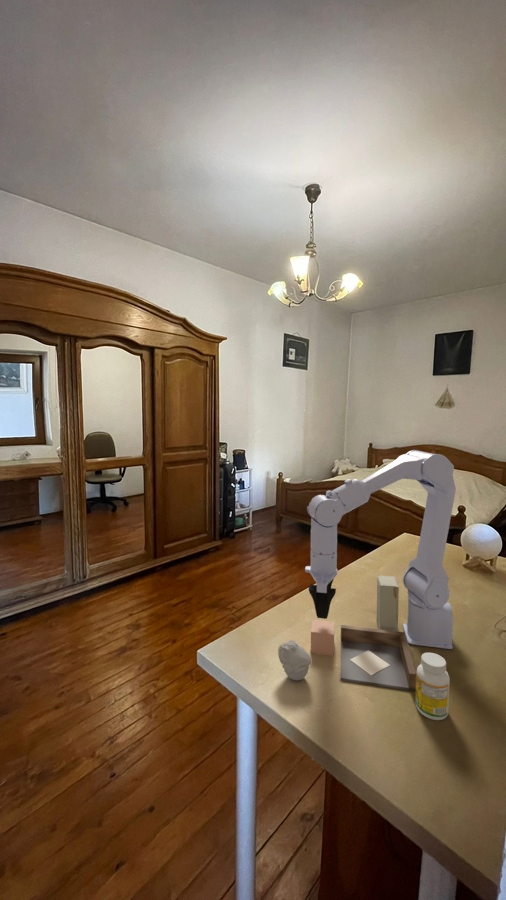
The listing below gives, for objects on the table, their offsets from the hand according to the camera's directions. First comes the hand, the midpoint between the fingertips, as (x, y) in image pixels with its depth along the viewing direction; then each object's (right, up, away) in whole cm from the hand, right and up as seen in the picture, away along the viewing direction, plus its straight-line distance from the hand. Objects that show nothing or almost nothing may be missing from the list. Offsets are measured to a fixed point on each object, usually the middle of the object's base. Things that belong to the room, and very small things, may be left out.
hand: (323, 608), depth 86 cm
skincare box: (+17, -9, +8) cm, 21 cm away
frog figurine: (-7, -11, -8) cm, 15 cm away
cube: (0, -9, +1) cm, 9 cm away
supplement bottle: (+16, -11, -17) cm, 26 cm away
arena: (+10, -10, -4) cm, 15 cm away
